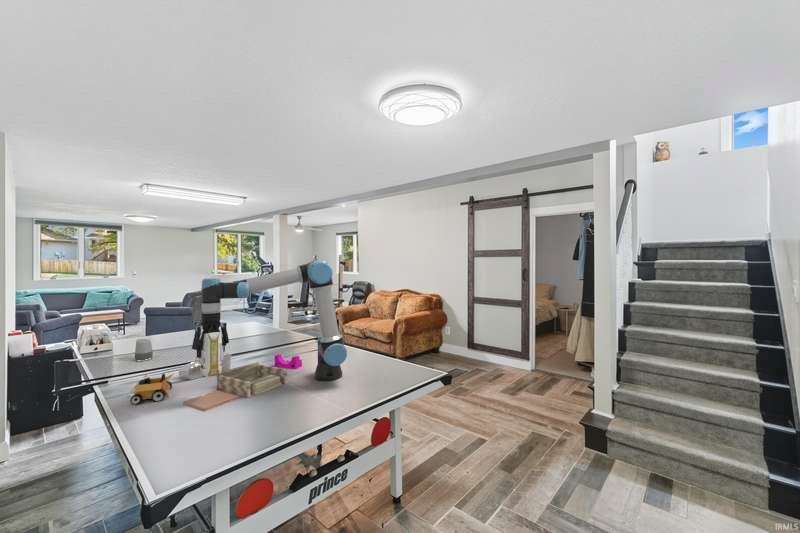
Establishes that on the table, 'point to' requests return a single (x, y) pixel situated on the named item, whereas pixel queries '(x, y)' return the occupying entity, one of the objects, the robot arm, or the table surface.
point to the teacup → (226, 362)
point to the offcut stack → (264, 384)
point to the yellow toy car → (151, 389)
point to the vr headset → (190, 371)
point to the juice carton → (212, 354)
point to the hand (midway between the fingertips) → (211, 362)
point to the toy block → (288, 362)
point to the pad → (210, 400)
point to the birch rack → (247, 378)
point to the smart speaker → (143, 349)
